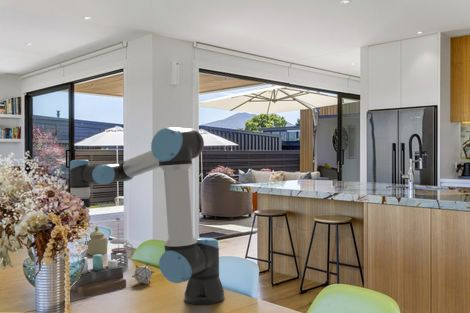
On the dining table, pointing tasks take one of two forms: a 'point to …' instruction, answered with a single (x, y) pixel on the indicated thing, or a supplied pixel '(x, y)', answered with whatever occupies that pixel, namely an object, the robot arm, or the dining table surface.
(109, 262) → the grey plug
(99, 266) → the teal plug
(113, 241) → the french press
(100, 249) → the sugar bowl
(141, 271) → the grey spiky ball
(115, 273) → the socket board
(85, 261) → the grey plug
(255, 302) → the dining table surface
